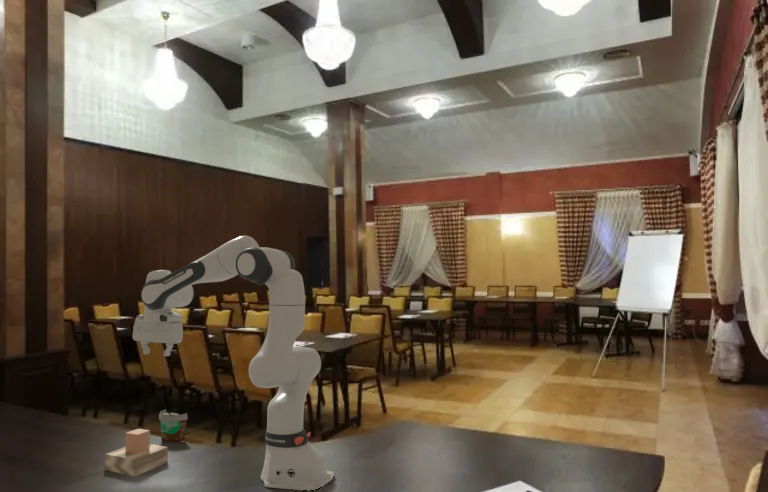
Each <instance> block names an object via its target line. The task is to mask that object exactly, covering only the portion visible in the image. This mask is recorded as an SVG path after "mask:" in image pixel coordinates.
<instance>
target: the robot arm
mask: <svg viewBox="0 0 768 492" xmlns="http://www.w3.org/2000/svg"><path fill="white" fill-rule="evenodd" d="M295 268H296V262H295V258H294V257H293V255H292V254H291V253H289V252H288V251H286V250H283V249H280V248H278V249H277V248H272V247H265V246H264V247H263V246H261V247H260V246H259V244H258V242H257V240H255V238H253V237H251V236H249V235H239V236H238V237H236V238H233V239H230V240H229V241H227V242H225V243H223V244H222V245H220V246H218V247H217V248H215V249H214V250H212V251H211V252H208V253H207V254H206V255H203V256H201V257H199V258H198V259H196V260H194V261H192V262H191V263H188V264H186V265H184V266H182V267H181V268H179V269H177V270H175V271H173V272H172V271H171V270H168V269H158V270H152V271H149V272H148V274H147V275H146V279H145V283H144V285H143V287H142V289H141V292H140V298H141V299H140V300H141V301H142V303H143V305H144V310H143V312H144V314H138V315H137V316H136V318H135V319H134V324H133V331H132V340H134V341H137V342H140V346H141V347H142V348H141V349H143V351H142V353H143V355H149V354H150V353H151V348H149V346H148V344H149V343H160V344H165V347H166V348H165V350H163V356H164V357H170V356H171V351H172V349H173V347H174V345H175V344H180V343H182V341H183V338H184V329H183V328H184V327H183V323H182V321H183V319H184V318H183V315H182V314H181V313H178V312H176V311H174V310H172V309H174V308H184V307H187V306H189V305H190V304H191V303H192V302H193V299H194V297H195V291H194V290H195V289H194V287H193V285H197V284H205V283H207V284H208V283H219V282H225V281H228V280H230V279H232V278H235V277H236V276H238V275H239V276H240V278H242V279H244V280H245V281H247V282H251V283H254V284H256V285H259V286H263V285H265V286H267V288H268V291H269V306H268V309H269V310H268V311H269V312H268V324H267V325H268V326H267V332H266V336H265V338H264V341H263V343H262V345H261V347H260V348H259V350H258V352H257V354H255V356H253V358H252V359H251V360H250V362H249V364H248V376H249V379H250V381H251V383H252V384H253V385H254V386H255V387H256V388H261V389H273V388H278V390H277V392H276V394H275V395H274V396H273V398H271V399H270V401H269V403H268V404H267V408H266V409H267V410H266V411H267V413H266V414H267V415H266V416H267V417H266V430H265V440H264V442H265V455H264V461H263V467H262V471H261V475H260V480H261V481H262V482H263V484H264V485H263V486H264V487H266V488H273V489H283V490H292V489H293V491H303V490H307V491H306V492H311V491H310V490H314V489H318V488H320V487H322V486H324V485H325V484H326V483H328V482H329V481H330V480H331V479H332V478H333V476H334V477H335V473H334V471H332V470H327V469H328V468H327V463H326V462H327V461H326V457H325V455H323V454H322V453H321V452H320V451H319V450H318V449H317V448H316V447H315V446H313V445H312V444H311V443H310V441H309V439H308V437H311V431H310V432H308V433H307V432H306V430H305V428H304V413H305V411H304V410H305V402H306V398H307V394H308V392H309V389H310V386H311V384H312V382H313V381H314V379H315V378H316V377H317V375H319V373H320V371H321V369H322V359H321V356H320V354H319V352H318V350H317V349H314V348H313V347H307V346H295V347H294V345H295V342H296V340H297V339H298V337H299V336H300V335H301V334H302V333H303V332H304V330H305V325H306V324H305V322H306V321H305V320H306V318H305V317H306V293H305V285H304V279H303V275H302V273H300V271H298V270H296V269H295ZM330 475H331V476H330ZM333 479H334V478H333ZM324 487H325V486H324ZM322 488H323V487H322ZM320 489H321V488H320ZM318 490H319V489H318ZM314 491H315V490H314Z"/></svg>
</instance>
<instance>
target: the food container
mask: <svg viewBox="0 0 768 492" xmlns="http://www.w3.org/2000/svg"><path fill="white" fill-rule="evenodd" d="M188 417H189V416H188V413H187V412H186V413H183V414H180V413H177V412H167V409H163V410H162V411H160V413H159V415H158V420H159V421H160V433H161V437H160V438H161V441H162V442H164V443H170V444H171V443H179V442H184V441H185V437H186V431H187V430H186V429H187V428H186V427H187V420H188V419H189V418H188Z"/></svg>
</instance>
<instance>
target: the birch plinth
mask: <svg viewBox="0 0 768 492" xmlns="http://www.w3.org/2000/svg"><path fill="white" fill-rule="evenodd" d="M125 449H126V446H123V447H121V448H118V449H115V450H112V451H110V452H107V453H104V471H108V472H112V473H118V474H122V475H126V476H131V477H138V476H139V475H143V474H144V473H147V472H149V471H152V470H154V469H157V468H158V467H160V466H163V465H165V464H167V463H168V462H169V461H168V459H169V458H168V457H169V454H168V453H169V446H163V445H159V444H153V443H150V449H149V450H146V451H143V452H141V453H138V454H135V453H129V452H125Z"/></svg>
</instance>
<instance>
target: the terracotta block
mask: <svg viewBox="0 0 768 492" xmlns="http://www.w3.org/2000/svg"><path fill="white" fill-rule="evenodd" d="M150 438H151V430H150V429H145V428H144V429H143V428H136V429H133V430H130V431H127V432H125V447H126V449H125V452H129V453H135V454H138V453H141V452H143V451H146V450H149V449H150V444H151V443H150V441H151V439H150Z"/></svg>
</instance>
